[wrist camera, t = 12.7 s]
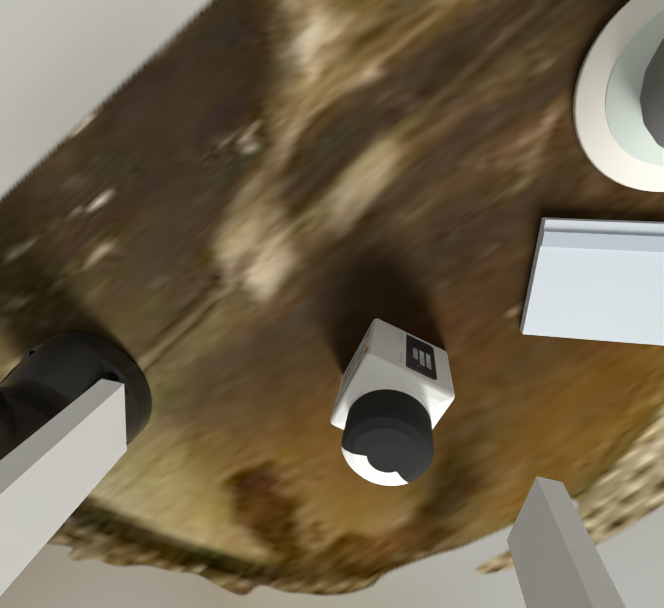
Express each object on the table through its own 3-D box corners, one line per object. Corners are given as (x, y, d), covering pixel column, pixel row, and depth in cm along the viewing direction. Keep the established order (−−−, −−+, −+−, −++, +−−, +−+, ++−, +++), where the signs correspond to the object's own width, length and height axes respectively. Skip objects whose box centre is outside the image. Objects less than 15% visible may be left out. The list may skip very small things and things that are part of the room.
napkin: (519, 329, 37) (523, 335, 36) (541, 217, 33) (546, 220, 32) (721, 345, 34) (732, 352, 33) (769, 225, 31) (784, 229, 29)
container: (375, 315, 39) (359, 392, 27) (448, 350, 39) (465, 443, 27) (341, 376, 42) (314, 470, 30) (409, 409, 42) (409, 515, 30)
